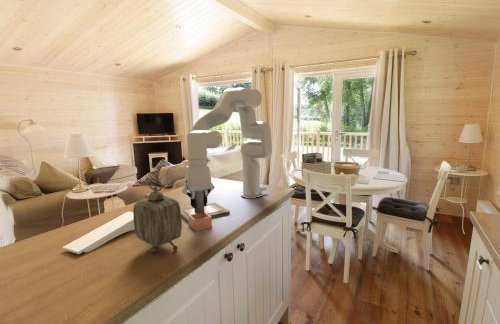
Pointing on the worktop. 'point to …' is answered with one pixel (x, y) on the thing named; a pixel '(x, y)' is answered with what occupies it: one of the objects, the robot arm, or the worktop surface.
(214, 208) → the writing board
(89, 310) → the worktop surface
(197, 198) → the marker
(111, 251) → the worktop surface
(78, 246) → the white wedge
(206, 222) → the orange square open box
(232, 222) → the worktop surface
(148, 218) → the tabletop clock
